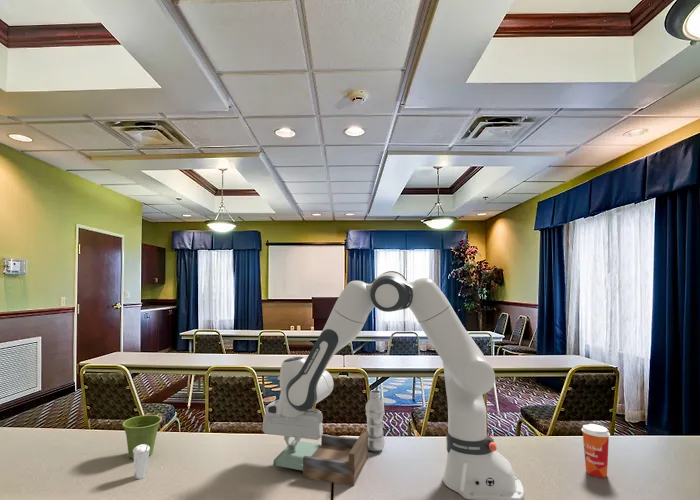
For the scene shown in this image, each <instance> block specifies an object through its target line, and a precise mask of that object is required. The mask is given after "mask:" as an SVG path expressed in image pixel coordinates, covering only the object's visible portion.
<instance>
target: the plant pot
mask: <svg viewBox="0 0 700 500" xmlns="http://www.w3.org/2000/svg"><path fill="white" fill-rule="evenodd" d="M162 420H163V418H162V417H161V416H159V415H155V414H154V415H153V414H146V415H144V414H143V415H139V416H134V417H133V416H132V417H130V418H128V419H125V421H123V422H122V427H124V433H125V435H126V443H127V452H128V457H129V458H131V459H132V460H134V457H133V449H134V448H135V447H136V446H138V445H141V444H145V445H148V446H149V447H150V451H149V457H151V456H152V454H153V452H154V448H155V443H156V439H157V434H158V430H159V427H160V423H161V422H162Z"/></svg>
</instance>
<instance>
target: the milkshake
mask: <svg viewBox="0 0 700 500" xmlns="http://www.w3.org/2000/svg"><path fill="white" fill-rule="evenodd" d="M149 451H150V447H149V446H148V445H145V444H141V445H138V446H136V447H135V448H134V449H133V457H134V459H133V472H134V473H133V475H134V479H135V480H141V479H144V478H146V477H147V473H148V463H149V457H150V456H149Z"/></svg>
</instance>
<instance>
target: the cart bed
mask: <svg viewBox="0 0 700 500" xmlns="http://www.w3.org/2000/svg"><path fill="white" fill-rule="evenodd" d="M320 438H321V439H320V440H321V441H320V442H321V444H320V445H321V446H320V447H319V448H318V450H317V451H316V452H315V453H314V455H313V456H312V457H310V456H304V457H303V471H302V479H306V480H307V479H309V480H315V481H322V482H328V483H332V484H333V483H335V484H340V485H346V486H348V485H349V486H352V487H353V486H355V485H356V482H357V481H358V479H359V476H360V475H361V473H362V471H363V468H364V467H365V465H366V463H367V461H368V456H369V455H368V454H369V451H368V431H367V430H362V432H361V434H360V435H359V436H358V438H355V437H346V436H339V435H338V436H337V435H331V434H330V435H329V434H322V436H321V437H320Z"/></svg>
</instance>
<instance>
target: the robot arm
mask: <svg viewBox="0 0 700 500" xmlns="http://www.w3.org/2000/svg"><path fill="white" fill-rule="evenodd" d="M374 308H377V309H378V310H379V311H381V312H385V313H388V312H389V313H391V312H392V313H393V312H396V311H401V310H407V309H410V311H411V312H412V313H413V315H414V317H415V318H416V320H417V322H418V324H419V326H420V327H421V329H422V331H423V332H424V335H426V338H427V339H428V341H429V343H430V344H431V346H432V347H433V349H434V350H435V352H436V353H437V355H438V356H439V357H440V359H441V361H442V366H443V373H444V383H445V392H446V400H447V417H448V418H447V423H448V424H447V426H448V427H447V429H448V430H447V431H446V435H445V438H446V440H445V441H446V442H445V444H446V445H445V446H446V447H445V448H446V452H447V455H446V463H445V469H444V473H443V476H442V481H443V483H444V485H445V486H447V487H448V489H451V490H453V491H454V492H455V493H458V494H459V495H460V496H462V498H464V499H465V500H523V499H524V497H525V490H524V486H523V483H522V482H521V480H520V479H519V477H517V476H515V472H514V468H513V467H512V464H511V463H510V461H509V460H508V459H507V458H506V457H504V456H503V455H502V454H501V453H499V452H498V451H497V450H498V449H497V444H496V443H495V442H494V441H495V439H493V436H492V435H491V434H490V435H488V434H487V407H486V404H485V401H484V400H485V399H484V395H485V394H487V393H489V392H490V390H492V389H493V387H494V385H495V382H496V374H495V373H496V372H495V371H494V369H493V367H492V365H491V363H489V360H488V359H487V358H486V356H485V355H484V353H483V351H482V350H481V349H480V347H479V345H477V342H475V340H474V339H473V338H472V336H471V334H470V333H469V332H468V330H466V327H464V324H462V321H461V320H460V318H459V317H458V315H457V313H456V312H455V310H454V308H453V307H452V305H451V303H450V302H449V299H448V298H447V297H446V295H445V294H444V292H443V291H442V290H441V288H440V287H439V286H438V284H436V283H435V281H434V280H432V279H431V278H427V277H422V278H418V279H416V280H414V281H408V280H407V279H406V277H405V276H404V275H403V274H401V273H400V272H397V271H394V270H391V271H385V272H382V273H381V274H380V275H378V276H377V277H375V278H374V279H373V280H371V281H370V283H366V282H364V281H363V280H352V281H350V282H348V283H347V284H346V285H345V287H344V289H343V290H342V291H341V292H340V295H339V296H338V298H337V300H336V301H335V304H334V305H333V308H332V309H331V312H330V313H329V317H328V319H327V320H326V323H325V324H324V327H323V329H322V331H321V332H320V334H319V336H318V338H317V339H316V341H315V343H314V345H313V347H312V348H311V350H310V352H309V354H308V356H307V357H306V358H305V357H303V356H293V357H290V358H287V359H285V360H283V361H282V363H281V366H280V371H279V387H280V394H279V399H277V400H274V401H272V402H270V403H268V405H267V404H266V405H267V406H265V409H264V410H265V413H264V416H263V418H262V419H263V422H262V431H263V433H264V434H266V435H270V436H271V435H273V436H281V437H284V438H283V439H284V441H285V443H286V445H287V446H286V447H287V449H288V450H294V451H296V450H297V448H298V443H299V441H301V439H304V440H305V439H306V440H314V441H318V440H320V438H321V436H322V435H324V428H323V421H324V420H323V418H324V417H323V413H322V411H320V410H319V409H318V408H313V406H315V405H316V404H319V402H322V401H323V400H324V399H326V398H327V397H328V396H330V395H331V394H332V392H333V391H334V385H335V382H334V377H333V376H332V374H331V372H329V371H328V370H327V366H328V365H329V363H330V361H331V360H332V358H333V357H334V356H335V355H336V354H337V353H339V351H340V350H342V349H343V348H344V347H346V346H347V345H349V344H350V343H352V342H353V341H354V340H355V339H356V338H357V337H358V335H359V334H360V333H361V332H362V330H363V328H364V325H365V324H366V321H367V320H368V317H369V315H370V313H371V312H372V310H373V309H374ZM291 438H294V440H296V442H295V443H291V442H292V441H291Z"/></svg>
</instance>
